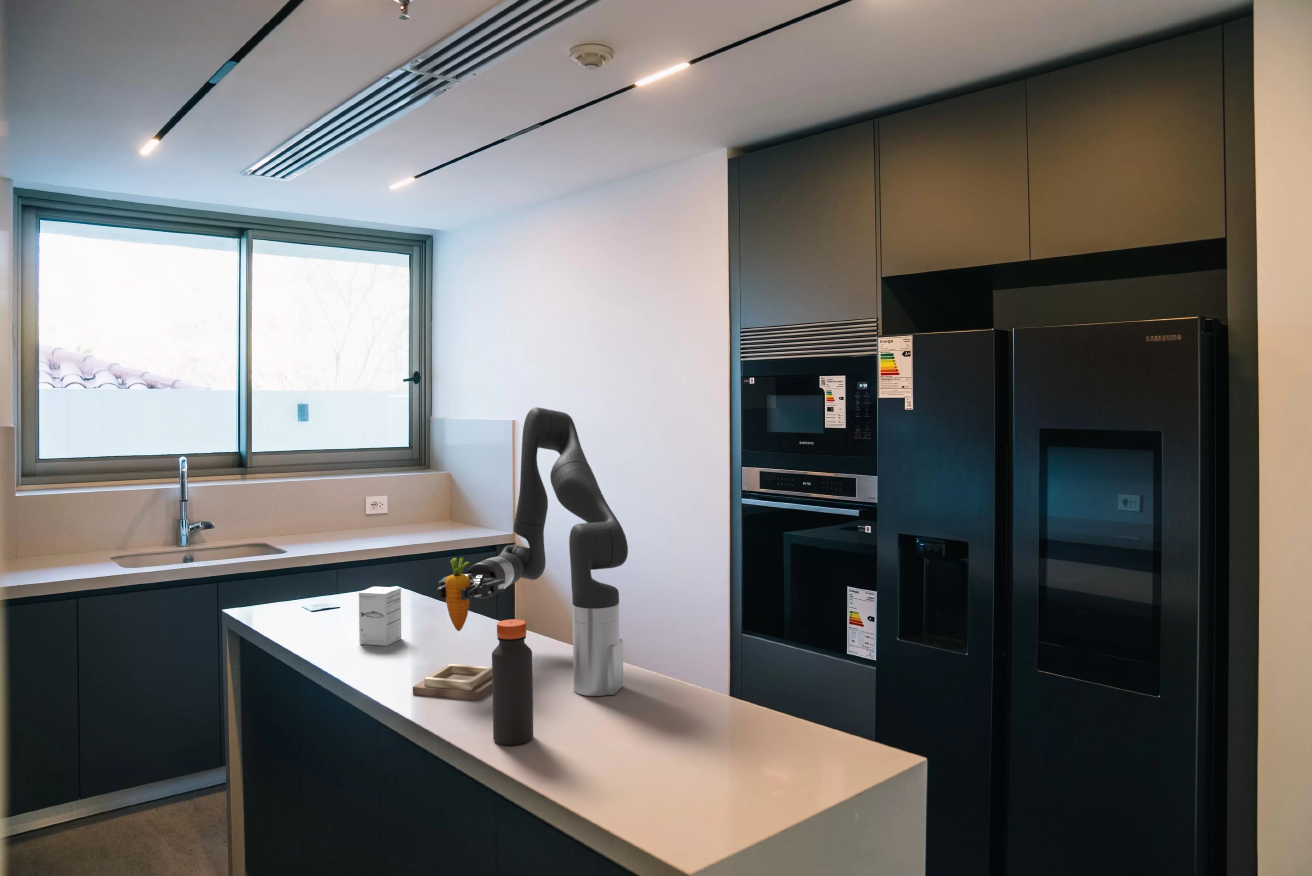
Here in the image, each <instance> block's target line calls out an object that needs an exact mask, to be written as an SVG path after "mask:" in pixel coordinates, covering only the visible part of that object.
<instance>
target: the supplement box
mask: <svg viewBox="0 0 1312 876" xmlns="http://www.w3.org/2000/svg"><path fill="white" fill-rule="evenodd" d="M401 588H402V587H390V586H371V587H369V588H366V589H364V590H361V591H359V592H358V620H359V621H358V624H359V626H358V627H359V628H358V629H359V633H358V637H359V641H358V643H359V645H368V646H369V645H373V646H381V647H382V646H383V647H388V646H390V645H391V644H394V643H395V642H397V641H400V640H401V639H402V595H401V594H402V589H401Z"/></svg>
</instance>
